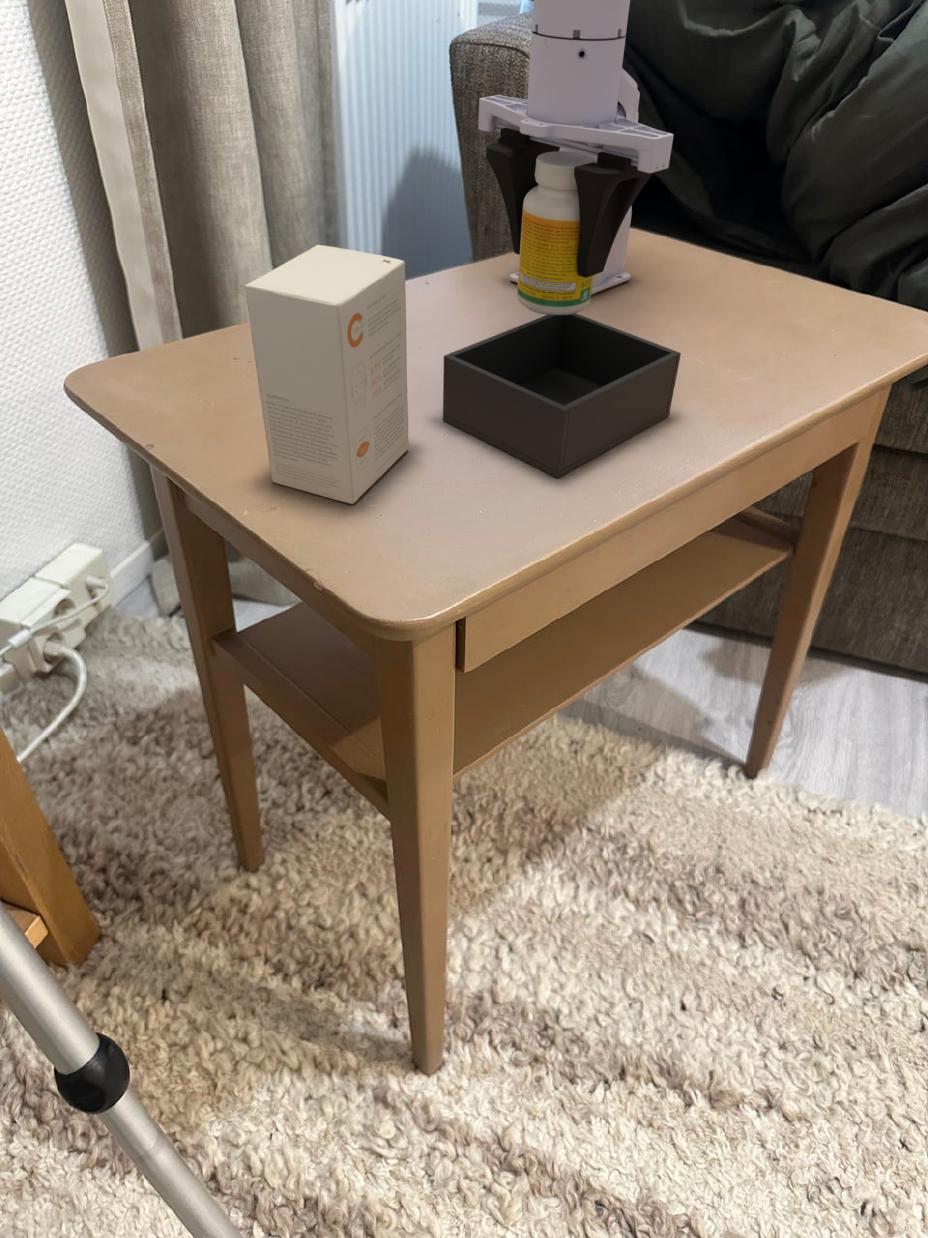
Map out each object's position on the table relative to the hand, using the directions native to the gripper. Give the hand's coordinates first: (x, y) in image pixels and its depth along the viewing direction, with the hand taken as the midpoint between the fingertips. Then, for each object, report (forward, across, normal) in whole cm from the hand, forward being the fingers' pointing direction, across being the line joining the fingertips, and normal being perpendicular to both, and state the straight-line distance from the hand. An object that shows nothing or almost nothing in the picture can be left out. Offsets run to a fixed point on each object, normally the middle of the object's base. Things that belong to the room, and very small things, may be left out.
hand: (557, 261), depth 63 cm
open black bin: (+10, +3, -2) cm, 11 cm away
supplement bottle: (+3, 0, 0) cm, 3 cm away
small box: (+10, -2, -18) cm, 21 cm away
